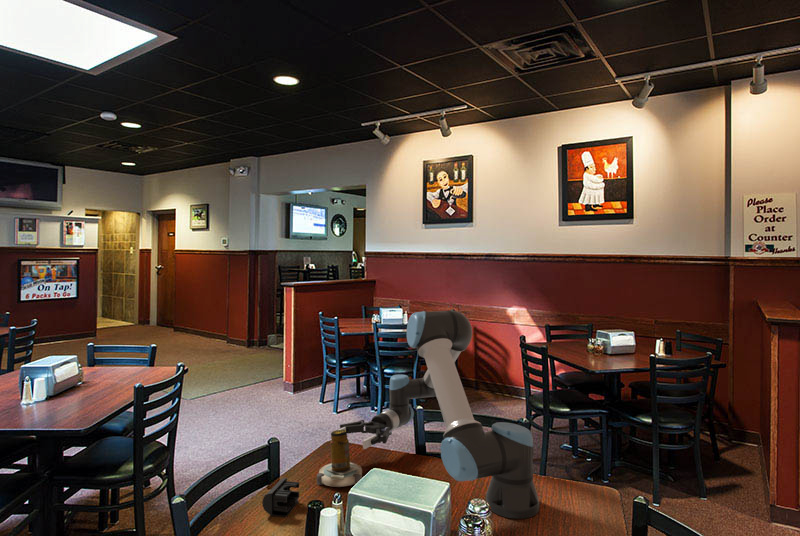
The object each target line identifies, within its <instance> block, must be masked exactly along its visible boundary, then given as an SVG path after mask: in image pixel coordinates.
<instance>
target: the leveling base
mask: <svg viewBox="0 0 800 536" xmlns="http://www.w3.org/2000/svg"><path fill="white" fill-rule="evenodd" d="M350 466H354V467H356V468H359V469H356V470H353V471H352V472H348V473H345V474H341V475H340V474H337V473H335V472H331V471H328V470H326V469H328V468H332V465H331V463H327V464H325V465H323V466H322V467H321V468H320V469H319V471H318V473H317V474H316V485H318V486H323V485H325V486H329V487H332V488H333V487H336V488H341V487H343V488H344V487H348V486H352V485H353V486H354V484H355V483H357V481H359V480H360V479H361V480H362V477H363V469H362V467H361V466H360V465H359V464H357V463H355V462H351V461H350Z"/></svg>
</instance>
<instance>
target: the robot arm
mask: <svg viewBox="0 0 800 536" xmlns="http://www.w3.org/2000/svg"><path fill="white" fill-rule="evenodd" d="M406 325H407V326H406V340H407V344H408V346H409V347H410V348H412V349H416V350H417V353H418V356H419V357H421V358H423V359H424V360H425V364H426V367H427V370H426V372H425V373H424V375H423V377H421V378H411V379H410V378H409V376H408V375H407V374H402V373H401V374H393V375H392V376H391V377H390V379H389V409H387V410H385V411H383V412H381V413H379V414H376V415H374V416H373V417H372V418H371V420H370V421H368V422H367V421H366V422H365V420H364V419H362V420H359V421H353V422H347V423H343V424H340V425H339V429H337V430H346V431H347V435H348V434H355V433H362V434H372V435H371V436H369V437H367V438H365V439H363V440H362V449H363V450H366V449H368V448H370V447H372V446H375V445H376V444H380V443H382V444H387V442H388V440H389V438H390V436H391V435H392V432H393V431H394V430H396V429H399V428H401V427H402V426H406V425H407V424H408V423H410V422H411V421H412V420H413V419H414V416H415V411H414V408H413V407H412V406H411V405H410V400H413V399H422V398H435V397H436V399H437V401H438V406H439V408H440V413H441V415H442V418H443V423H444V425H445V428H446V429H445V430H444V433H443V434H442V436H443V439H442V441H441V443H440V449H439V450H440V457H441V460H442V464H443V467H444V468H445V470H446V472H447V473H448V474H449V476H450V477H451V478H453V479H454V480H455V481H457V482H466V481H469V482H472V481H475V480H478V479H483V478H488V477H491V479H490V481H489V484H488V487H487V490H486V493H485V494H486V495H485V503H486V502H488V503H489V505H490V507H491V510H490V511H491V512H492V513H494V514H495V515H498V516H501V517H503V518H507V519H515V520H523V519H529V518H532V517H534V516H536V515H538V513H539V511H540V498H539V495H538V493H537V489H536V487H535V483H534V441H533V433H532V432H531V431H530V429H528V428H526V427H525V426H522V425H520V424H516V423H512V422H504V421H502V422H501V421H500V422H495V423H493V424H492V425H491V427H490V429H491V430H490V431H485V430H484V428H483V425H482V423H481V422H479V421H477V420H475V418H474V415H473V413H472V409H471V405H470V403H469V400H468V397H467V395H466V392H465V389H464V386H463V384H462V381H461V378H460V374H459V373H458V369H457V366H456V360H458V358H459V356H460V354H461V352H464V351H465V350H467V348H468V347H469V346H470V344H471V342H472V338H473V327H472V325H471V322H470V320H469V319H468V318H467V317H466V315H465V314H463V313H461V312H459V311H457V310H449V309H448V310H437V311H425V310H422V311H418V312H417V311H416V312H413V313H412V314H411V315H410V316H409V318H408V320H407V324H406Z"/></svg>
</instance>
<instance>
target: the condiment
mask: <svg viewBox="0 0 800 536" xmlns="http://www.w3.org/2000/svg"><path fill="white" fill-rule="evenodd" d="M330 439H331V440H330V443H329V444H330V462H331V465H332V468H328V469H326V470H328V471H331V472H335V473H337V474H340V475H341V474H345V473H348V472H352V471H353V470H356V469H359V468H356V467H354V466H350V462H351V461H350V459H351V457H350V454H351V453H350V443H349V439H348V434H347V431H346V430H338V429H336V430H333V431H332V432H331V433H330Z"/></svg>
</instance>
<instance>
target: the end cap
mask: <svg viewBox="0 0 800 536" xmlns="http://www.w3.org/2000/svg"><path fill="white" fill-rule="evenodd" d="M291 488H295V489H299V488H300V482H299V481H288V477H283V478H281V479H280V480H278V482H276V484H275V485H274V486H273V487H271V488H270V490H269V491H268V492H267V493H266V494H265V495H264V497H262V502H261V505H262V508H263V510H264V511H265V513H267V514H268V515H270V516H271V517H274V518H275V517H276V518H278V517H279V518H288V516H289V515H290V514H291V513H292V512H293V510H294V509H295V507H296V506H297V505H298V504H299V497H300V491H295V490H291Z"/></svg>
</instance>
